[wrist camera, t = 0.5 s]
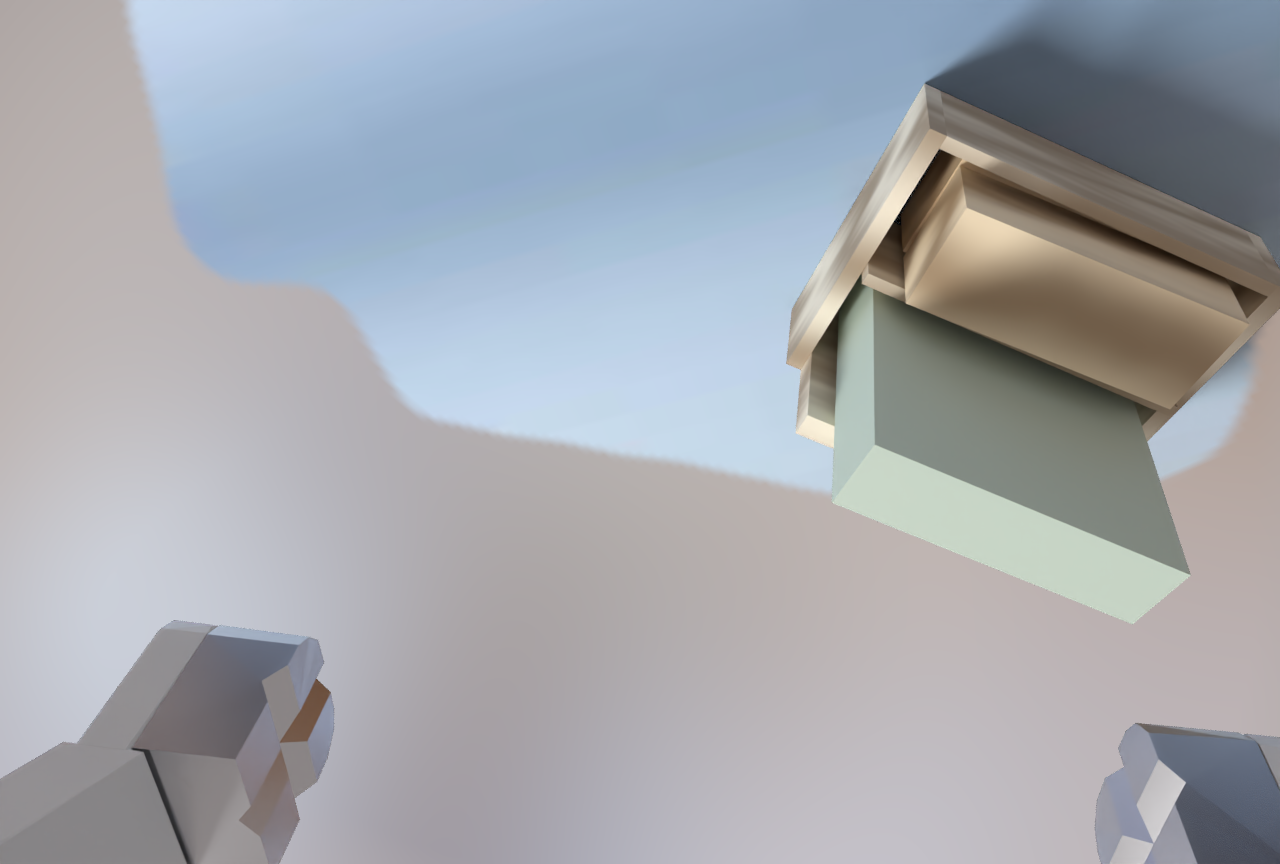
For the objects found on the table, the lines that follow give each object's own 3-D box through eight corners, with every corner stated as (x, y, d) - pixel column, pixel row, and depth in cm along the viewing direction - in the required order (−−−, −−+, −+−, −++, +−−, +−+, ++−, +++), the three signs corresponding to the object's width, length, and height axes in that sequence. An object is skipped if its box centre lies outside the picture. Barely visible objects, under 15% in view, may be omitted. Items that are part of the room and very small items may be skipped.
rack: (924, 83, 46) (936, 182, 38) (1260, 237, 47) (1335, 360, 40) (792, 309, 54) (779, 426, 47) (1080, 432, 56) (1113, 563, 48)
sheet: (872, 240, 51) (874, 444, 39) (1115, 346, 52) (1190, 575, 40) (839, 293, 53) (831, 502, 41) (1073, 394, 55) (1132, 624, 43)
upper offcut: (959, 165, 44) (966, 207, 41) (1224, 275, 45) (1249, 324, 42) (903, 257, 47) (906, 303, 44) (1151, 358, 48) (1170, 409, 45)
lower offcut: (956, 122, 47) (962, 158, 44) (1199, 232, 48) (1221, 276, 45) (900, 210, 50) (902, 251, 47) (1130, 312, 51) (1146, 358, 48)
